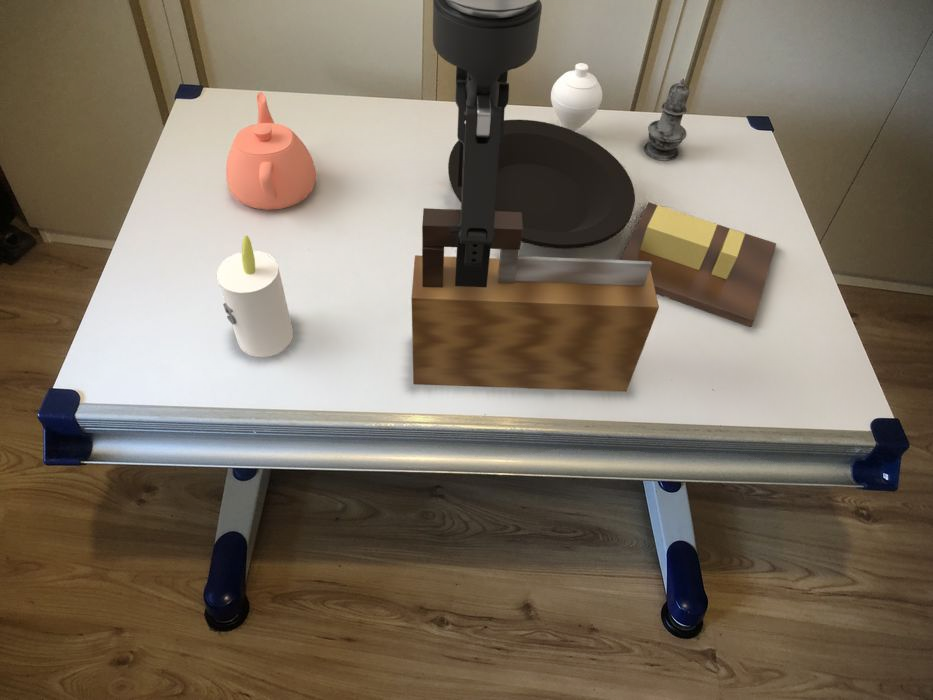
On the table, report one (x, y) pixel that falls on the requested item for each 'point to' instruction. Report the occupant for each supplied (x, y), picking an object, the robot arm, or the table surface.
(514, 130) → the plate
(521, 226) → the brown and grey bar
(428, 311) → the wood grain block
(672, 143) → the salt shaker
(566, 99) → the spinning top
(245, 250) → the candle
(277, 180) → the teapot
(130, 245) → the table surface
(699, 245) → the butter block
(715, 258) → the board
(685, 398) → the table surface
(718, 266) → the butter slice
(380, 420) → the table surface
